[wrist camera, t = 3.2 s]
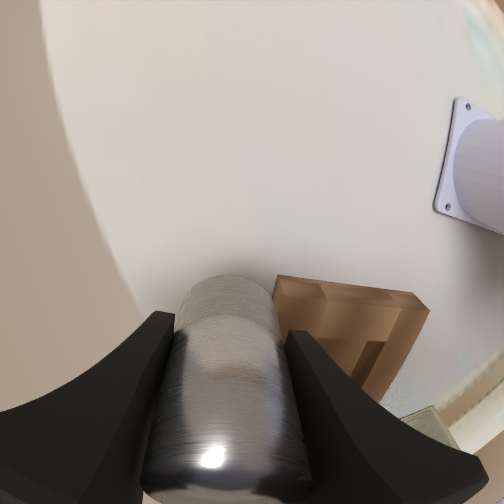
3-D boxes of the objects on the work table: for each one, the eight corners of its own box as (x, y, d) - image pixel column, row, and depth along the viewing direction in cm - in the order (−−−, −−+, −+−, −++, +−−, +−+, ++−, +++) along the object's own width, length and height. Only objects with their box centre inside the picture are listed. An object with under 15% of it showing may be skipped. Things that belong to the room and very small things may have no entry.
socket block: (412, 292, 19) (430, 310, 17) (362, 392, 23) (371, 413, 20) (277, 274, 18) (283, 295, 16) (247, 389, 21) (249, 414, 19)
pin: (285, 281, 11) (339, 458, 4) (266, 357, 12) (288, 516, 5) (183, 269, 10) (127, 447, 4) (179, 348, 12) (149, 508, 5)
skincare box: (380, 442, 27) (412, 526, 15) (385, 422, 25) (423, 516, 14) (427, 423, 26) (465, 499, 15) (435, 402, 25) (481, 484, 14)
